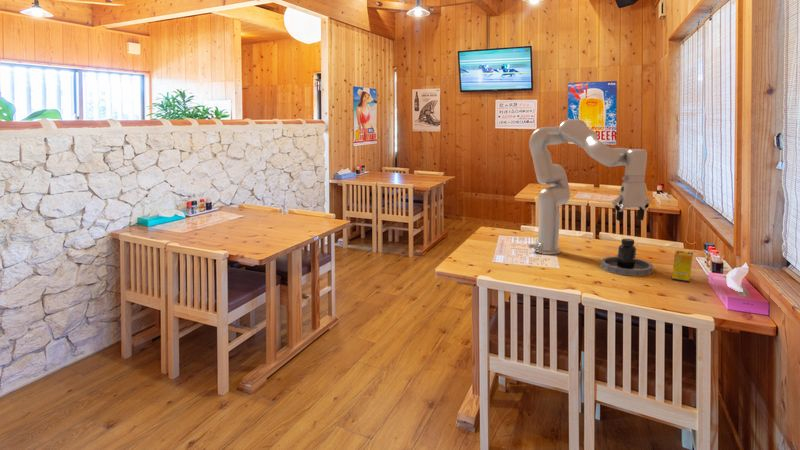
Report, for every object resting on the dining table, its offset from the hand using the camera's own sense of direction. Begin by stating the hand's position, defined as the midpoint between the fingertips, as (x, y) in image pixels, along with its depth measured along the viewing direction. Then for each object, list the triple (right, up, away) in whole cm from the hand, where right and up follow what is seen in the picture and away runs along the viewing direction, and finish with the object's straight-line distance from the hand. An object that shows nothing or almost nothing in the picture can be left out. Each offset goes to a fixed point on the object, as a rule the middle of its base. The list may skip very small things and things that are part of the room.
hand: (629, 220), depth 193 cm
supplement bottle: (0, -20, +4) cm, 21 cm away
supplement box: (+15, -24, -10) cm, 30 cm away
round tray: (0, -21, +4) cm, 21 cm away
